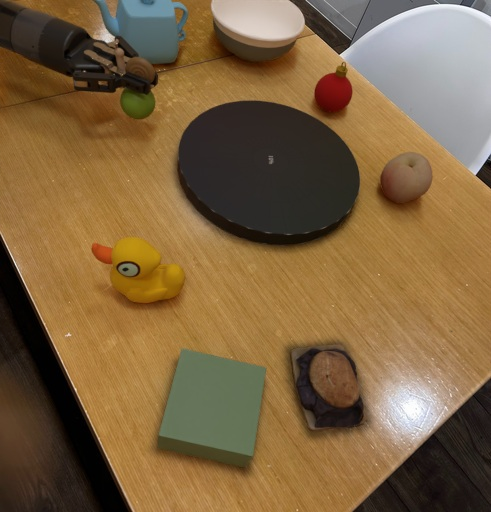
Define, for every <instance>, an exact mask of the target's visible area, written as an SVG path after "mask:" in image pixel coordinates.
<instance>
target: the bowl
mask: <svg viewBox="0 0 491 512" xmlns="http://www.w3.org/2000/svg"><path fill="white" fill-rule="evenodd" d="M210 10H211V14H212V27H213V30H214V32H215V35H216V37H217V39H218V41H219V42H220V43H221V45H222V46H223V47H225V49H227V51H229V52H230V53H231V54H234V55H235V57H237V58H239V59H241V60H243V61H246V62H249V63H263V62H269V61H273V60H277V59H278V58H281V57H283V56H285V55H286V54H288V52H289V51H291V50H292V49H293V47H294V46H295V44H296V42H297V41H298V38H299V36H300V34H301V33H302V32H303V31H304V29H305V26H306V19H305V16H304V14H303V13H302V11H301V9H300V8H299V7H298V6H297V5H296V4H295V3H294V2H292V1H290V0H211V3H210Z"/></svg>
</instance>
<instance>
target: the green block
mask: <svg viewBox="0 0 491 512" xmlns="http://www.w3.org/2000/svg"><path fill="white" fill-rule="evenodd" d="M179 352H180V353H179V356H178V360H177V364H176V367H175V370H174V371H175V372H174V375H173V379H172V382H171V387H170V390H169V394H168V397H167V402H166V406H165V409H164V412H163V416H162V420H161V424H160V428H159V431H158V435H157V445H156V448H157V450H158V449H159V450H163V451H168V452H172V453H176V454H181V455H185V456H190V457H194V458H199V459H203V460H209V461H212V462H217V463H221V464H227V465H231V466H234V467H235V466H236V467H239V468H244V469H246V467H247V466H248V464H249V463H250V462H251V460H253V459H252V458H254V455H255V446H256V439H257V435H258V427H259V421H260V413H261V407H262V401H263V393H264V387H265V381H266V373H267V367H266V366H262V365H257V364H253V363H248V362H244V361H240V360H235V359H231V358H227V357H223V356H219V355H214V354H209V353H205V352H202V351H201V352H200V351H197V350H191V349H188V348H183V347H181V349H180V351H179Z"/></svg>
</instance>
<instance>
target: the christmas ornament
mask: <svg viewBox="0 0 491 512" xmlns="http://www.w3.org/2000/svg"><path fill="white" fill-rule="evenodd" d="M348 71H349V70H348V67H347V63H346V61H342V62H341V64H340V65H337V66H336V69H335V72H330V73H327V74H325V75H323V76H322V77H321V78H319V80H318V81H317V83H316V84H315V87H314V92H313V94H314V95H313V96H314V101H315V103H316V104H317V106H318V107H319V108H320V109H321V110H323V111H324V112H327V113H338V112H342V111H343V110H344V109H346V107H348V105H349V104H350V102H351V100H352V98H353V86H352V83H351V81H350V80H349V78H348V77H347V74H348Z"/></svg>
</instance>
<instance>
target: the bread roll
mask: <svg viewBox="0 0 491 512" xmlns="http://www.w3.org/2000/svg"><path fill="white" fill-rule="evenodd" d="M290 363H291V367H292V368H291V369H292V375H293V381H294V384H295V389H296V393H297V396H298V400H299V402H300V403H299V406H300V408H301V410H302V414H303V416H304V420H305V423H306V425H307V427H308V430H309V431H311V432H316V433H318V432H324V431H334V430H336V429H340V428H341V429H347V428H350V427H351V428H352V427H356V426H361V425H364V424H365V422H366V415H365V411H364V408H365V405H364V402H363V398H362V397H361V393H360V392H361V391H360V389H359V381H358V372H357V366H356V363H355V361H354V359H352V357H351V356H350V355H349V354H348V352H347V351H346V349H345V346H343V345H342V344H340V343H336V344H335V343H334V344H326V345H316V346H314V345H313V346H306V347H295V348H294V347H293V348H291V350H290Z"/></svg>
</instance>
